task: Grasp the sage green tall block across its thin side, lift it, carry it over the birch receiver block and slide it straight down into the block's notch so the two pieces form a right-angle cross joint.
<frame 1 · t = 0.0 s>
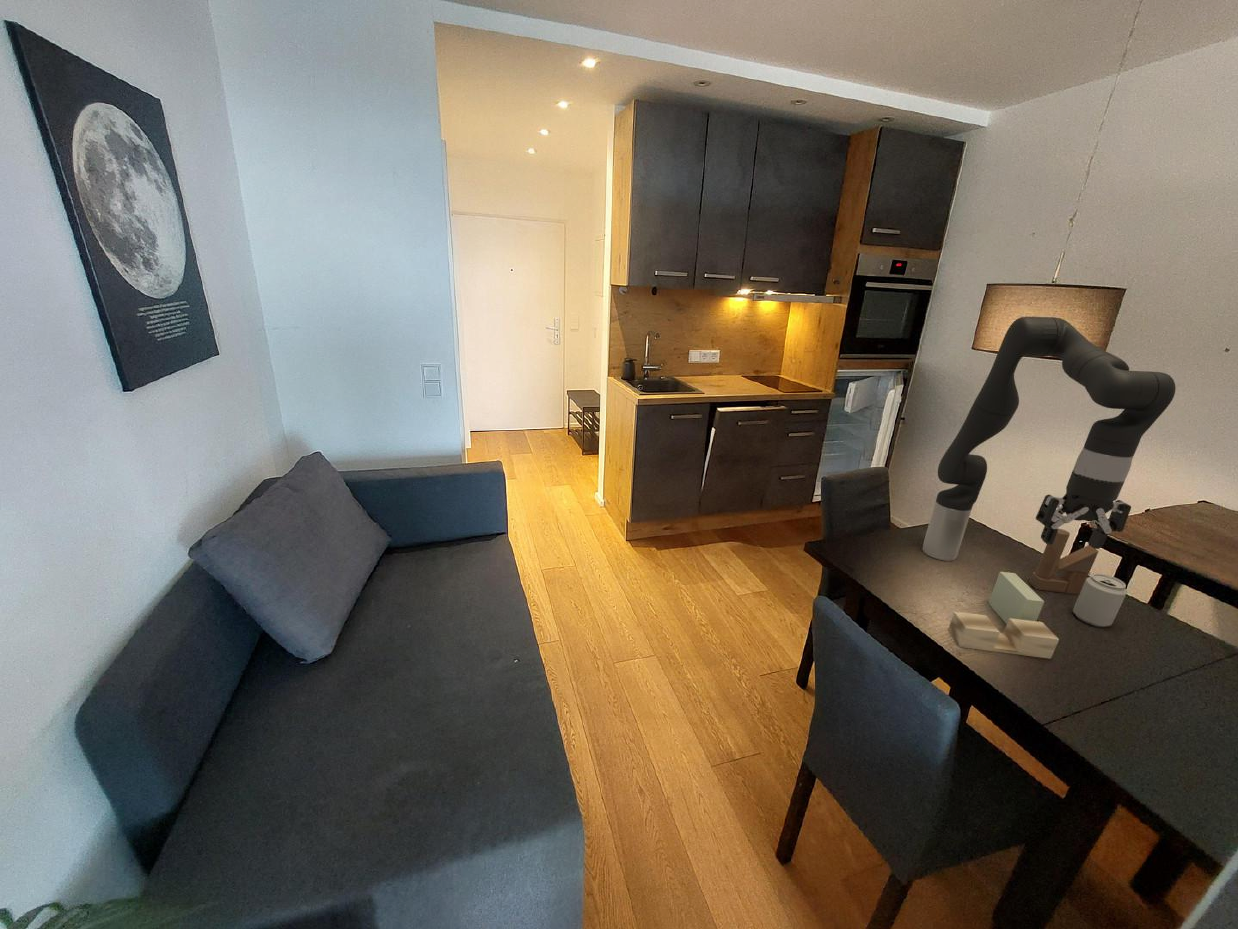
hand: (1069, 544, 100), 29 cm above the table, fingers open, 8 cm apart
sage green tall block: (1008, 618, 122), on the table
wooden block: (1053, 589, 135), on the table
can: (1090, 619, 123), on the table
receiver: (997, 643, 114), on the table
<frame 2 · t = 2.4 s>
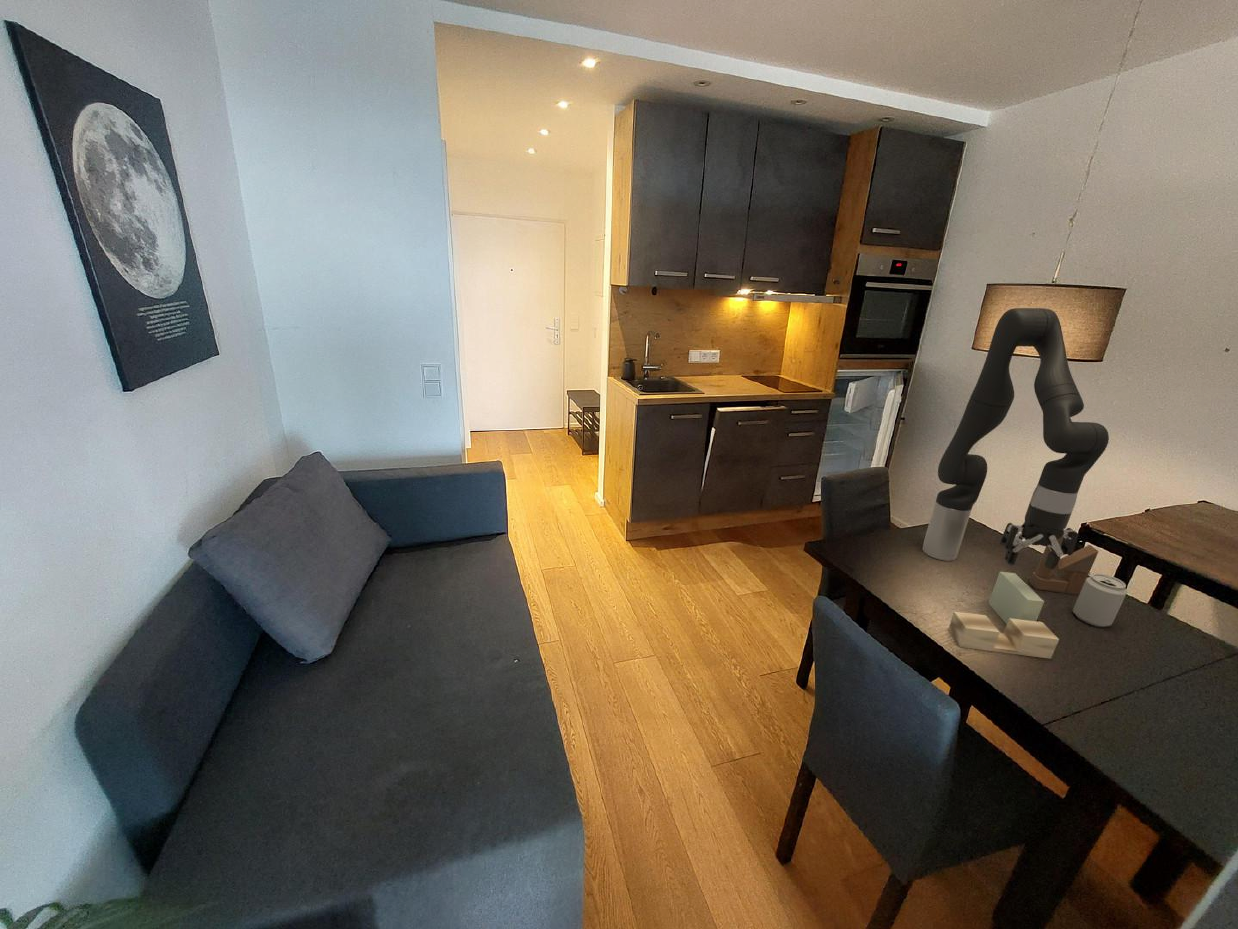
hand: (1028, 565, 117), 16 cm above the table, fingers open, 8 cm apart
nothing on the table moved.
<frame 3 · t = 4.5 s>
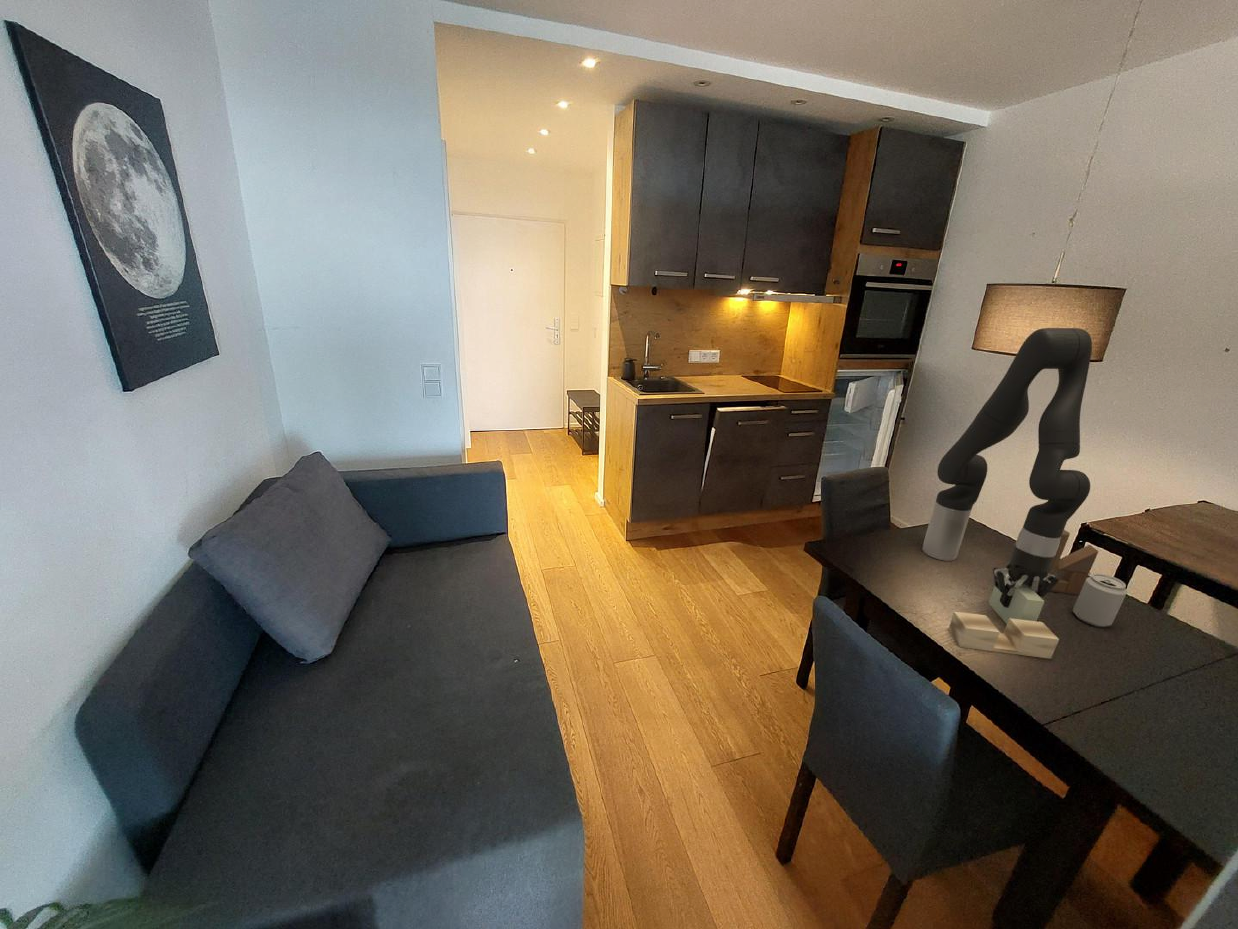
hand: (1013, 606, 121), 4 cm above the table, fingers closed on sage green tall block, 3 cm apart
sage green tall block: (1008, 618, 122), on the table, touching gripper
everything else where it was.
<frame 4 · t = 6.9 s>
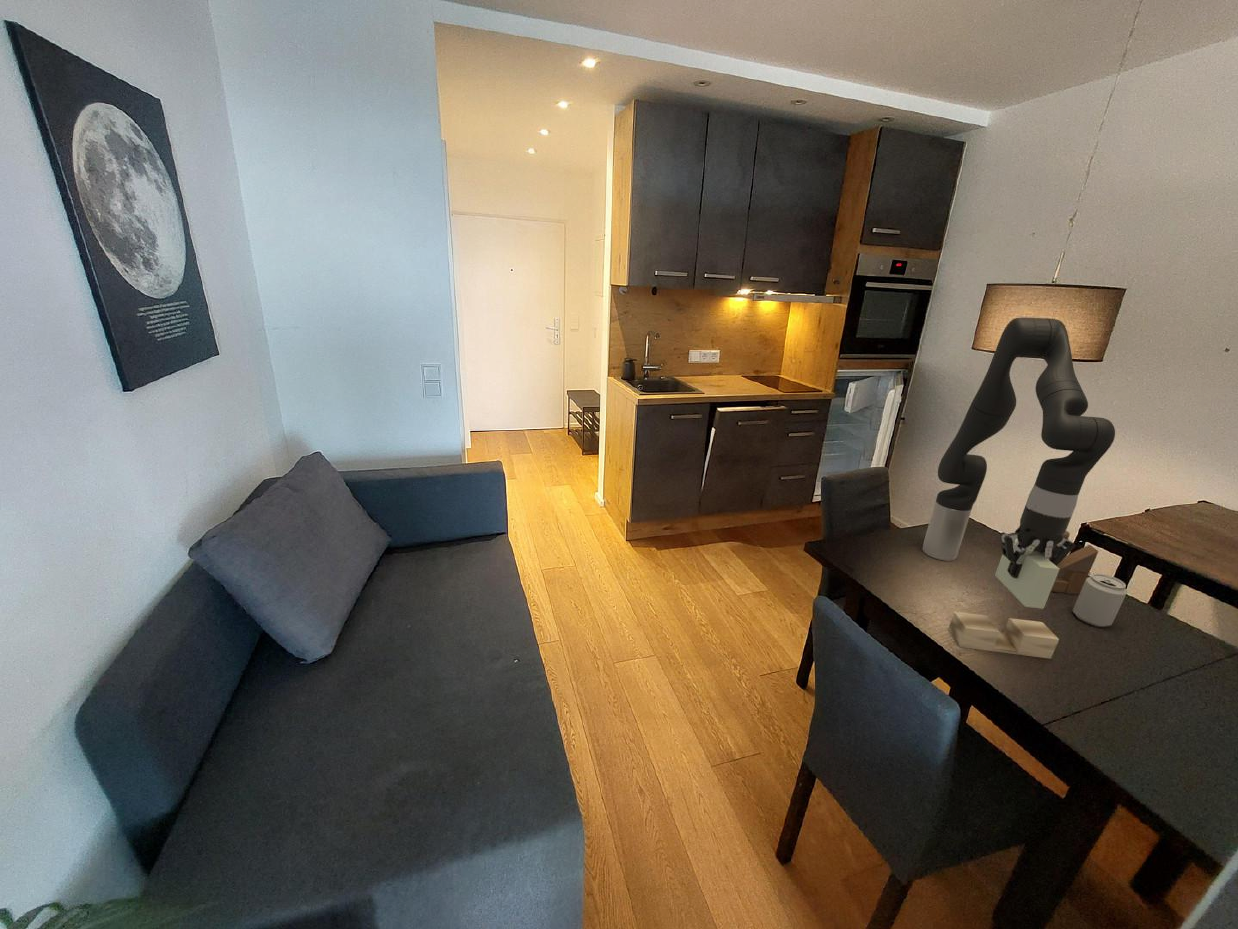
hand: (1022, 576, 107), 19 cm above the table, fingers closed on sage green tall block, 3 cm apart
sage green tall block: (1017, 591, 108), point 15 cm above the table, touching gripper
everything else where it was.
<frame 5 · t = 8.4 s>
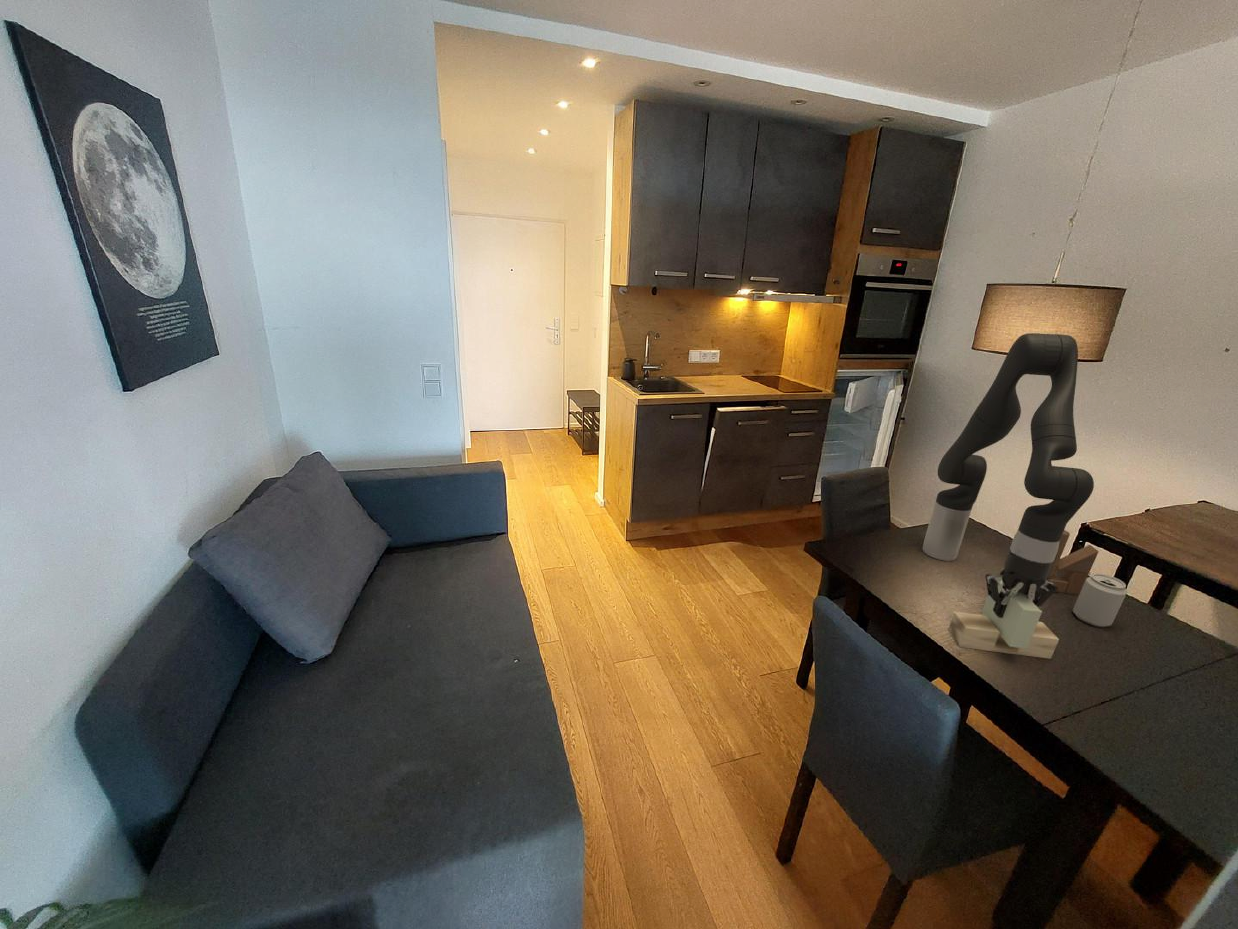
hand: (1007, 616, 111), 8 cm above the table, fingers closed on sage green tall block, 3 cm apart
sage green tall block: (1003, 629, 112), point 4 cm above the table, touching gripper
everything else where it was.
when the fingers open (7 cm above the table, at t = 9.2 s): sage green tall block drops 2 cm, resting on receiver.
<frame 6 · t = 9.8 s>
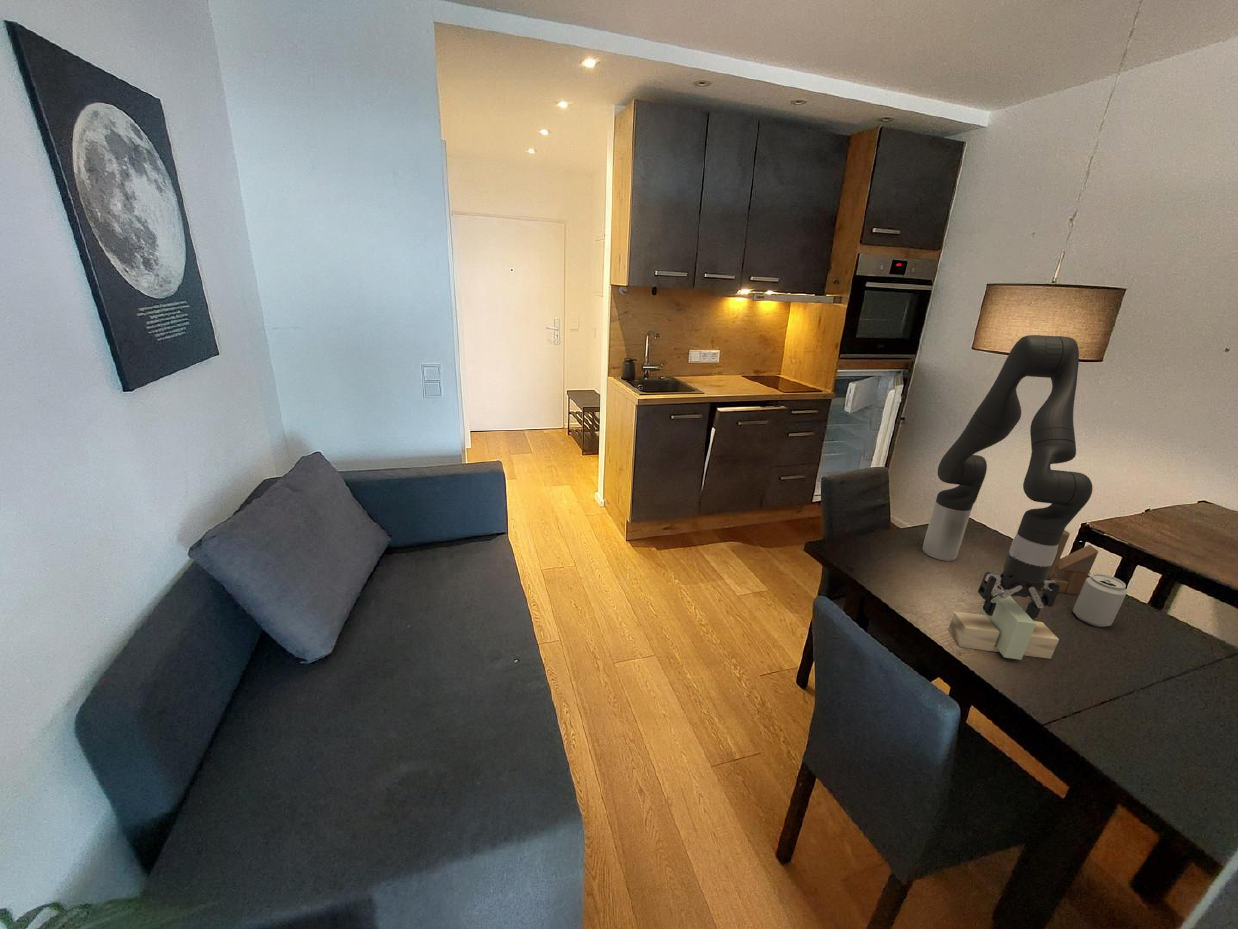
hand: (1008, 616, 111), 8 cm above the table, fingers open, 8 cm apart
sage green tall block: (998, 640, 113), point 1 cm above the table, touching receiver
everything else where it was.
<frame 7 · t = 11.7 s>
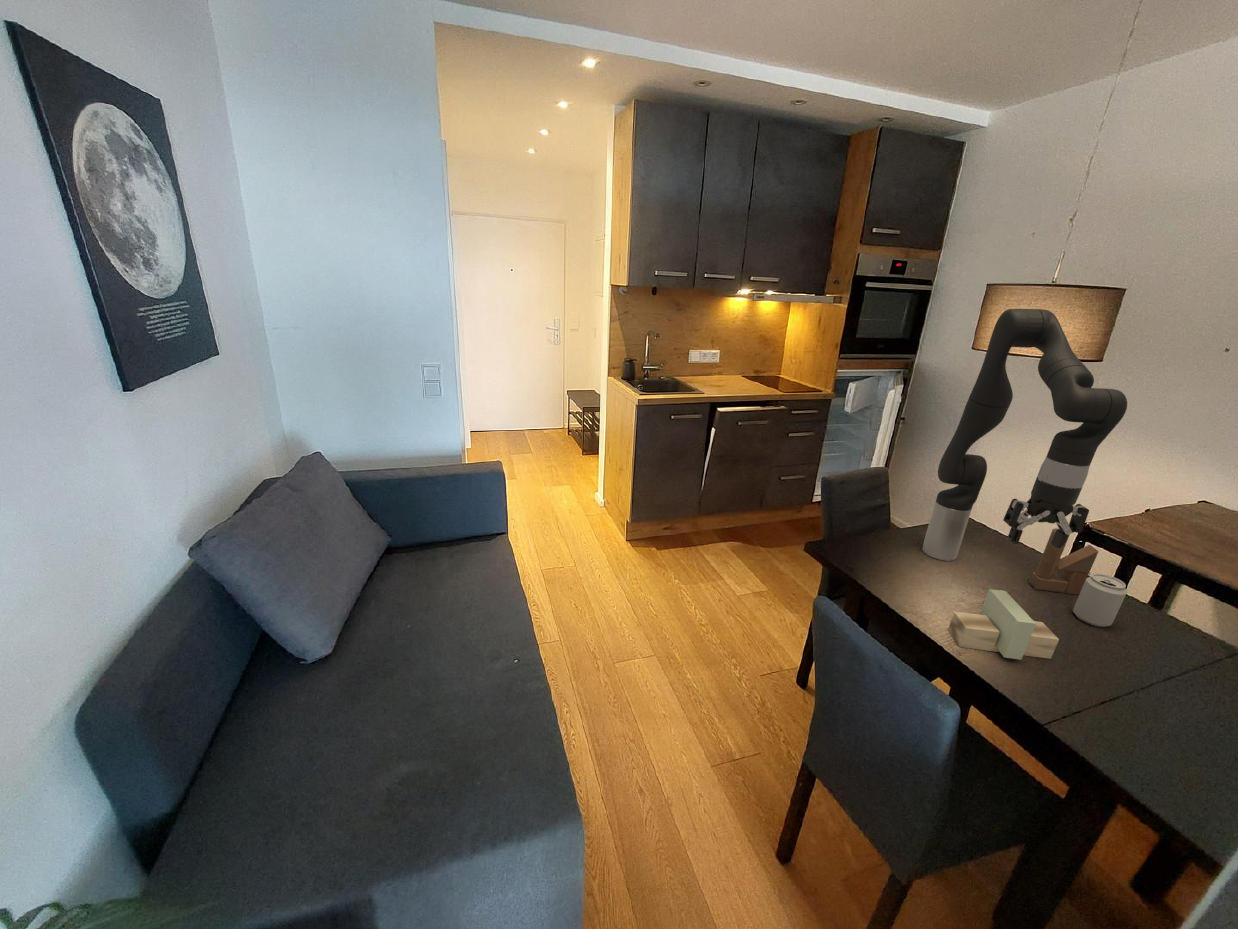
hand: (1034, 544, 109), 25 cm above the table, fingers open, 8 cm apart
nothing on the table moved.
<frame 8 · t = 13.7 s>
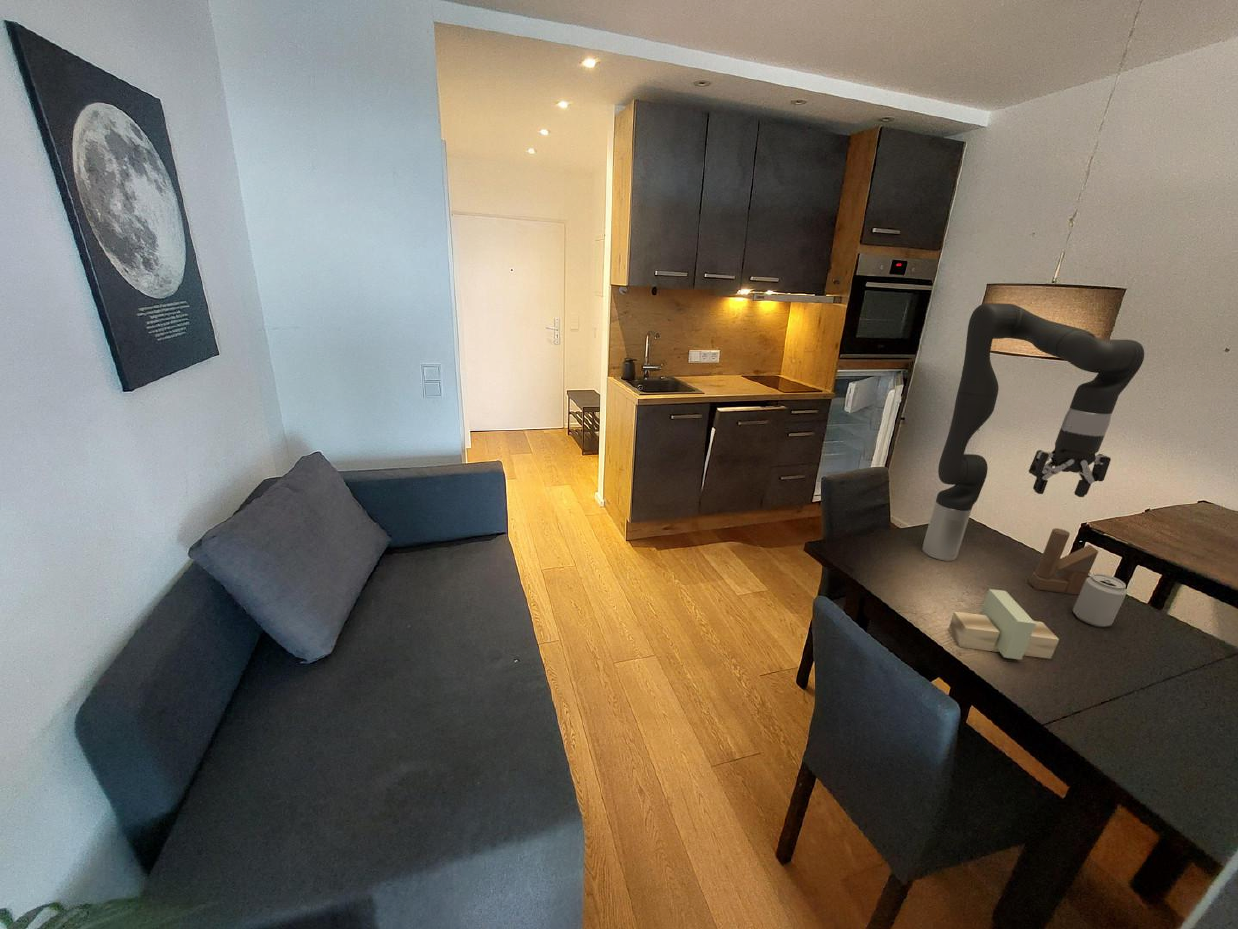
hand: (1058, 494, 114), 33 cm above the table, fingers open, 8 cm apart
nothing on the table moved.
at the end: sage green tall block 0.1 cm off-centre on the receiver, point 1.0 cm above the receiver's base; sage green tall block tilted 0°; the gripper is holding nothing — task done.
